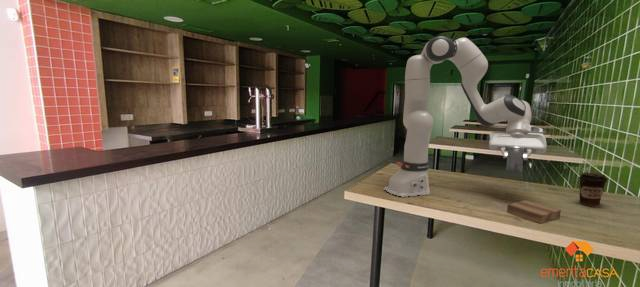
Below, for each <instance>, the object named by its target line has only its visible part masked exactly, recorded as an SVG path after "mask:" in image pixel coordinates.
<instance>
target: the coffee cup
mask: <svg viewBox="0 0 640 287" xmlns="http://www.w3.org/2000/svg"><path fill="white" fill-rule="evenodd" d="M607 181H608V178H606V175H605V174H601V173H594V172H582V174H581V175H580V176H579V193H578V194H579V202H578V203H579V204H581V205H583V206H587V207H588V206H589V207H593V208H594V207H596V208H599V207H601V200H602V195H604V194H603V193H604V189H605V185H606V184H607Z"/></svg>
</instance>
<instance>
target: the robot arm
mask: <svg viewBox="0 0 640 287" xmlns="http://www.w3.org/2000/svg"><path fill="white" fill-rule="evenodd" d="M446 60H448V61H451V63H453V64H454V65H455V66H456V68H457V70H458V71H459V73H460V75H461V80H460V85H461V88H462V91H463V93H464V95H465V97H466V98H467V100H468V102H469V104H470V107H471V108H472V110H473V112H474V115H475V119H476V121H477V123H479V124H480V125H481V126H483V127H487V128H491V127H493V126H495V125H496V124H498V123H500V122H503V121H506V122H507V124H506V129H505V131H496V130H494V131H492V132H490V133H489V143H488V149H490V150H494V151H500V152H501V153H502V155H503V156H502V157H503V159H507V157H508V146H509V145H513V146H524V153H525V154H523V161H528V158H529V156H531V154H541V155H542V154H544V153H546V152H547V149H548V148H547V145H548V144H547V138H546V136H545V135H544V129H543V128H542V127H537V126H533V125H531V124H530V123H531V122H532V108H531V105H530V103H529V102H527V101H526V100H522V99H520V98H519V97H516V96H514V95H511V94H507V95H505V96H501V97H500V98H498V99H496V100H494V101H491V102H489V103H487V104H486V103H485V102H484V101H483V98H482V97H481V94H480V92H479V91H478V84H479V82H480V81H481V80H482V78H484V76H485V74H486V73H487V71H488V69H489V68H488V67H489V62H488V60H487V57H486V56H485V55H484V54H483V52H482V51H481V50H480V49H479V47H478V46H477V45H476V44H475V43H474V42H473V41H471V39H469V38H467V37H460V38H457V39H452V38H449V37H448V36H444V35H437V36H434V37H432V38H431V39H430V40H429V41H427V43H426V44H425V45H424V47H423V49H422V51H421V52H420V54H416V55H413V56H411V57H408V59H407V62H406V67H405V72H404V74H405V75H404V104H403V116H402V117H403V118H402V123H403V126H404V127H405V129H406V136H405V142H404V147H403V148H404V150H403V160H402V162H401V161H397V163H396V166H397V167H400V169H398V171H396V172H395V173H394V174H392V175H391V177H390V178H389V181H388V185H387V186H384V187H383V191H384V190H386V191H387V192H389V193H391V194H390V195H392V194H394V195H397V196H396V197H398V196H401V197H400V198H408V196H410V197H418V196H417V195H420V196H429V195H431V189H430V185H429V183H430V182H429V174H428V172H429V171H428V170H429V166H430V165H429V164H430V162H429V144H430V141H431V136H432V132H433V131H432V130H433V128H434V122H435V121H434V118H433V116H432V115H431V113H430V112H428V104H429V100H430V97H431V69H432V66H435V65H438V64H441V63H443V62H444V61H446ZM386 191H385V192H386ZM387 192H386V193H387ZM389 193H388V194H389ZM394 195H393V196H394Z"/></svg>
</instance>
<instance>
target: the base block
mask: <svg viewBox="0 0 640 287" xmlns="http://www.w3.org/2000/svg"><path fill="white" fill-rule="evenodd" d="M506 206H507V207H506V212H507V213H509V214H512V215H514V216H517V217H521V218H523V219H526V220H529V221H531V222H534V223H538V224H545V223H547V222H550V221H554V220H556V219H560V218H561V210H562V209H559V208H556V207H555V208H554V207H552V206H549V205H545V204H541V203H539V202H534V201H531V200H528V199H524V200H521V201H516V202H514V203H509V204H507V205H506Z"/></svg>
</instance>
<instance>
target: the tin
mask: <svg viewBox="0 0 640 287" xmlns="http://www.w3.org/2000/svg"><path fill="white" fill-rule="evenodd" d="M507 153H508V157H507V158H506V168H505V171H506V172H510V173H518V174H519V173H523V161H524V160H523V154H524V153H525V152H524V146H513V145H509V146H508V151H507ZM524 155H525V154H524Z"/></svg>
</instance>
